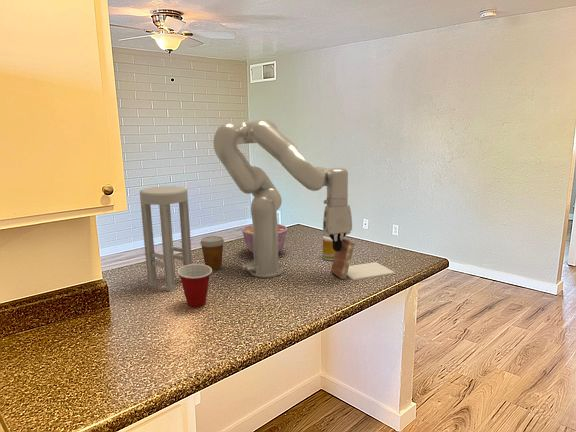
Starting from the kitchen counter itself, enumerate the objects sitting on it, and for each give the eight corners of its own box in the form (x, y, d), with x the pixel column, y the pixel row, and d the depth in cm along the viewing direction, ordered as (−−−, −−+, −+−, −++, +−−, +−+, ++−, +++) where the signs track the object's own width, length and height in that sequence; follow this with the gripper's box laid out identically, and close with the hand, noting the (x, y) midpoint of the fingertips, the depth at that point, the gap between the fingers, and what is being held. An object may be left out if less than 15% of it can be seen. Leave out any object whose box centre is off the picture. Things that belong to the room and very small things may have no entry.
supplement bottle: (339, 260, 178) (340, 231, 176) (322, 260, 179) (323, 231, 176) (338, 255, 185) (338, 227, 183) (321, 255, 186) (322, 227, 183)
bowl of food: (236, 250, 194) (235, 226, 191) (276, 244, 202) (276, 221, 199) (251, 263, 176) (251, 236, 174) (295, 256, 184) (295, 231, 182)
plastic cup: (193, 314, 131) (191, 277, 128) (173, 305, 137) (170, 270, 135) (220, 303, 139) (219, 268, 136) (200, 294, 145) (198, 261, 143)
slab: (340, 278, 157) (349, 242, 155) (330, 271, 164) (338, 236, 163) (345, 279, 158) (354, 243, 156) (336, 272, 165) (344, 237, 164)
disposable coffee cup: (227, 263, 176) (226, 235, 174) (222, 271, 167) (220, 242, 164) (205, 263, 177) (203, 235, 175) (198, 271, 168) (196, 242, 165)
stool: (171, 273, 166) (164, 184, 158) (201, 280, 159) (195, 187, 151) (139, 286, 153) (130, 190, 146) (170, 294, 146) (162, 194, 138)
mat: (353, 280, 156) (353, 278, 156) (337, 269, 168) (337, 267, 168) (394, 273, 163) (394, 272, 163) (376, 263, 175) (376, 262, 174)
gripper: (323, 205, 149) (323, 255, 153) (360, 202, 154) (359, 250, 158) (314, 202, 156) (314, 250, 160) (350, 198, 161) (349, 245, 165)
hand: (337, 250), depth 159 cm, fingers closed
